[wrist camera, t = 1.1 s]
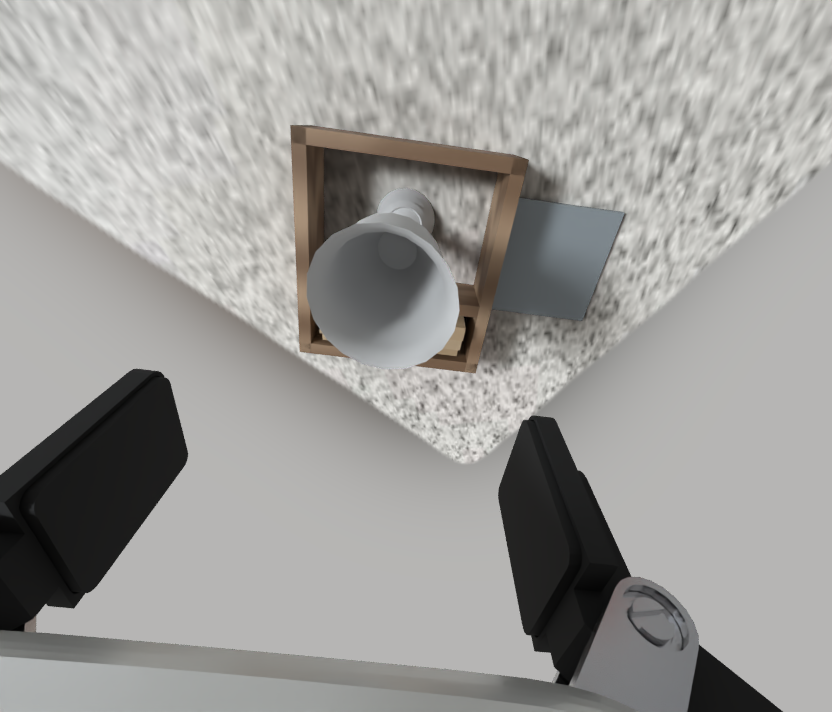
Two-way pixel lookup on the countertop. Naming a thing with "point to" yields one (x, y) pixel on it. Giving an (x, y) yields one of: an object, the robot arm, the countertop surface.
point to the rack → (314, 139)
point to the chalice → (385, 286)
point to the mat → (554, 258)
